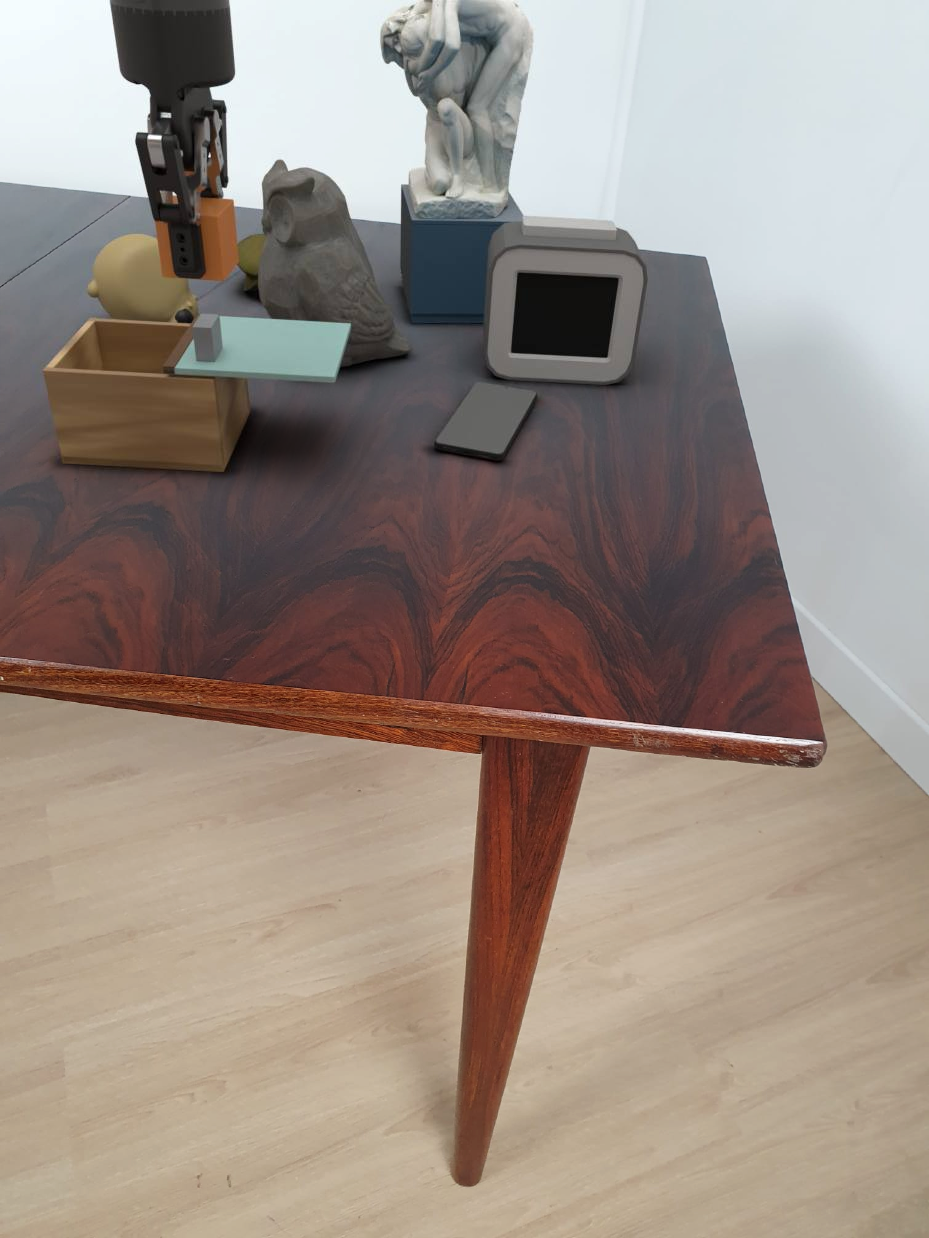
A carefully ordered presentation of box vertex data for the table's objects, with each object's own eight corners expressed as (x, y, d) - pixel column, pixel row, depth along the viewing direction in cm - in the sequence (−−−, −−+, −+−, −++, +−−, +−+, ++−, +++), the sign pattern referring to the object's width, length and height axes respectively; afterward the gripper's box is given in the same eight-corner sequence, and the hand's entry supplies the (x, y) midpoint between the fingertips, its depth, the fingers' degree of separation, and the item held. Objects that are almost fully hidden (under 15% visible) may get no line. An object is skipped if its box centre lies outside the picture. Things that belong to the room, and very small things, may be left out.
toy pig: (151, 375, 112) (215, 315, 109) (62, 297, 105) (128, 231, 102) (161, 339, 120) (222, 282, 116) (79, 265, 113) (141, 202, 109)
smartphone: (432, 442, 93) (476, 380, 104) (432, 451, 93) (475, 388, 105) (502, 455, 91) (539, 391, 103) (502, 464, 92) (538, 399, 103)
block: (162, 277, 72) (153, 212, 69) (180, 258, 76) (172, 195, 73) (224, 281, 72) (217, 216, 69) (239, 262, 75) (233, 199, 73)
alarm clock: (482, 378, 107) (492, 231, 98) (481, 339, 116) (490, 201, 107) (630, 386, 108) (654, 240, 98) (618, 347, 117) (638, 210, 107)
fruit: (207, 283, 127) (201, 230, 123) (284, 266, 134) (281, 216, 130) (255, 308, 121) (251, 254, 117) (334, 290, 127) (333, 238, 123)
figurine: (254, 337, 113) (239, 150, 101) (389, 327, 118) (389, 147, 106) (276, 387, 103) (262, 184, 91) (423, 373, 107) (428, 179, 95)
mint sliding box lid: (335, 383, 83) (333, 342, 80) (163, 373, 82) (157, 332, 80) (351, 329, 92) (350, 291, 90) (198, 320, 92) (194, 282, 90)
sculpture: (385, 324, 119) (385, -19, 97) (377, 280, 131) (376, -32, 110) (522, 324, 121) (552, -11, 100) (502, 281, 134) (524, -25, 112)
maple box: (223, 472, 88) (213, 380, 83) (62, 463, 88) (42, 370, 82) (250, 412, 98) (242, 326, 92) (105, 404, 97) (89, 317, 92)
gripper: (197, 14, 57) (226, 302, 68) (252, -9, 69) (270, 241, 79) (70, 6, 58) (118, 294, 68) (147, -15, 69) (178, 234, 79)
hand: (200, 264), depth 73 cm, fingers closed on block, 4 cm apart
